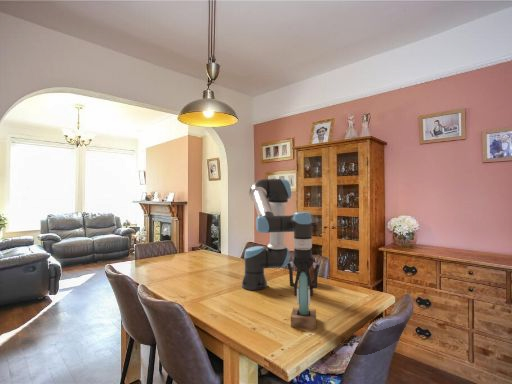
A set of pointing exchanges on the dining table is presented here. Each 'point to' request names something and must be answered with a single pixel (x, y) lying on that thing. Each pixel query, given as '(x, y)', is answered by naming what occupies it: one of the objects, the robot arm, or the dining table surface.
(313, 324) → the brown open box
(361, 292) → the dining table surface
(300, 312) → the teal long bar
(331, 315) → the dining table surface
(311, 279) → the wooden figurine
